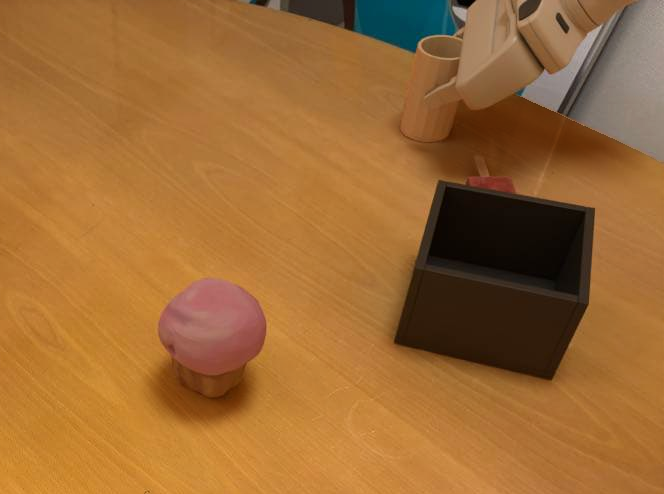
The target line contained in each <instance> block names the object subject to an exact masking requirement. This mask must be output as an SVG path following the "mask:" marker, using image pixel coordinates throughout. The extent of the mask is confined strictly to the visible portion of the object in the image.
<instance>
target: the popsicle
mask: <svg viewBox="0 0 664 494" xmlns="http://www.w3.org/2000/svg"><path fill="white" fill-rule="evenodd" d="M473 159H474V163H475V166H476V169H477V171H478V175H479V176H477V175H476V176H475V175H474V176H467V179H466V181H465V185H470V186H476V187H481V188H487V189H492V190H498V191H503V192H509V193H514V194H517V192H516V188H515V186H514V183H513V180H512V177H511V176H491V175H490V173H489V169H488V167H487V164H486V162H485V159H484V157H483V156H481V155H475V156H474V158H473Z"/></svg>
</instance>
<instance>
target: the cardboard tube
mask: <svg viewBox="0 0 664 494" xmlns="http://www.w3.org/2000/svg"><path fill="white" fill-rule="evenodd" d="M462 41H463V40H462V39H460V38H457V37H453V35H447V34H446V35H445V34H435V35H429V36H426V37H424V38H421V39H420V41H418V43H417V47H416V51H415V54H414V55H415V56H414V60H413V65H412V69H411V73H410V78H409V82H408V86H407V90H406V91H407V92H406V96H405V99H404V100H405V101H404V104H403V109H402V113H401V117H400V123H399V124H400V125H399V130H400V132H401V133H402V135H404V136H405V137H406V138H409V139H411V140H414V141H417V142H422V143H436V142H440V141H443V140H445V139H447V137H448V136H449V135H450V132H451V130H452V127H453V124H454V120H455V115H456V113H457V110H458V109H457V108H458V105H459V102H460V100H459V101H455V102H451V103H445V104H443V105H442V106H440V107H439V108H437V109H435V110H429V108H428V107H427V106H426V104H425V103H424V97H425V93H426V92H427V91H428V90H431V89H432V88H433V87H434V86H436V85H438V86H439V87H440V86H442V85H444V84H447V83H449V82H450V80H451V79H452V78H453V77H455V76H456V75H457V73H458V67H459V60H460V54H461V47H462Z"/></svg>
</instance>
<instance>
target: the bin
mask: <svg viewBox="0 0 664 494" xmlns="http://www.w3.org/2000/svg"><path fill="white" fill-rule="evenodd" d="M595 218H596V207H591V206H585V205H581V204H579V205H578V204H574V203H569V202H564V201H558V200H552V199H547V198H541V197H536V196H531V195H525V194H519V193H516V194H514V193H509V192H503V191H498V190H492V189H487V188H481V187H476V186H470V185H466V183H465V184H464V183H459V182H453V181H447V180H443V179H438V180H437V183H436V187H435V190H434V195H433V198H432V202H431V204H430V210H429V212H428V217H427V219H426V222H425V223H426V224H425V227H424V231H423V234H422V238H421V240H420V245H419V249H418V251H417V255H416V260H415V263H414V267H413V269H412V270H413V271H412V274H411V278H410V281H409V285H408V288H407V292H406V296H405V298H404V299H405V300H404V303H403V307H402V309H401V310H402V311H401V314H400V318H399V321H398V325H397V328H396V333H395V335H394V340H393V344H395V345H399V346H404V347H407V348H412V349H416V350H420V351H425V352H429V353H433V354H438V355H441V356H447V357H450V358H455V359H459V360H464V361H468V362H473V363H477V364H481V365H486V366H490V367H493V368H498V369H502V370H507V371H511V372H515V373H520V374H524V375H528V376H531V377H537V378H541V379H544V380H549V381H552V380H554V377H555V374H556V373H557V370H558V369H559V367H560V365H561V362H562V360H563V359H564V357H565V354H566V352H567V350H568V348H569V346H570V345H571V342H572V341H573V339H574V336H575V333H576V332H577V330H578V327H579V325H580V324H581V322H582V319H583V317H584V315H585V313H586V311H587V309H588V307H589V305H590V295H591V294H590V293H591V292H590V291H591V279H592V265H593V264H592V263H593V249H594V233H595V220H596V219H595Z"/></svg>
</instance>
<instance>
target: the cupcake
mask: <svg viewBox="0 0 664 494" xmlns="http://www.w3.org/2000/svg"><path fill="white" fill-rule="evenodd" d="M157 334H158V338H159V341H160V344H162V346H163V348H164V349H165V350H166V351H167V353H168V354H169V356H171V361H172V362H171V363H172V364H171V365H172V371H173V374H174V378H175V380H176V381H177V382H178V383H179V384H180V385H181V386H183V387H185V388H187V389H188V390H192V391H195V392H197V393H199V394H201V395H203V396H204V397H205V398H211V399H213V398H218V397H222V396H224V395H225V394H226V393H227V391H229V390H230V389H232V388H234V387H236V386H237V385H238V384H239V383H240V381H241V379H242V377H243V374H244V372H245V369H246V367H247V365H248V363H249V362H251V361H252V360H254V359H255V358H256V357H258V356H259V355H260V353H261V352H262V349H263V347H264V345H265V341H266V336H267V319H266V317H265V313H264V311H263V308H262V307H261V304H260V302H259V300H257V298H256V297H255V296H254V295H253V294H251V293H250V292H249V291H247V290H246V289H245V288H243V287H242V286H240V285H238V284H236V283H233V282H231V281H229V280H226V279H223V278H218V277H204V278H200V279H198V280H195V281H194V282H193V283H191V284H190V285H188V286H187V287H186V288H185V289H183V290H182V291H181V292H179V293H177V294H176V295H174V296H173V297H172V298H171V299H170V300H169V302H168V303H167V304H166V306H165V307H164V308H163V310H162V312H161V314H160V317H159V319H158V323H157Z"/></svg>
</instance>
